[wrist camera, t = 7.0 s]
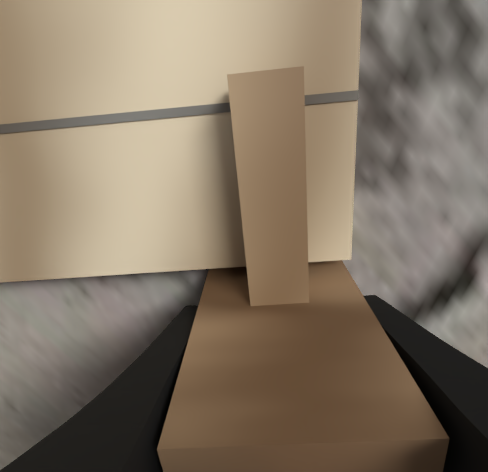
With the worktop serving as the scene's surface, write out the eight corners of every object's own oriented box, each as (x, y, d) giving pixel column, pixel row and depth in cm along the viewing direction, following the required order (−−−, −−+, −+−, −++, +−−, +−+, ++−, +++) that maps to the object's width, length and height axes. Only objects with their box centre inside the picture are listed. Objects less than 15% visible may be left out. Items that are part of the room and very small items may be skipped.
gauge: (222, 338, 11) (189, 566, 5) (185, 91, 8) (42, 42, 3) (336, 331, 11) (424, 563, 5) (339, 75, 8) (542, -18, 2)
